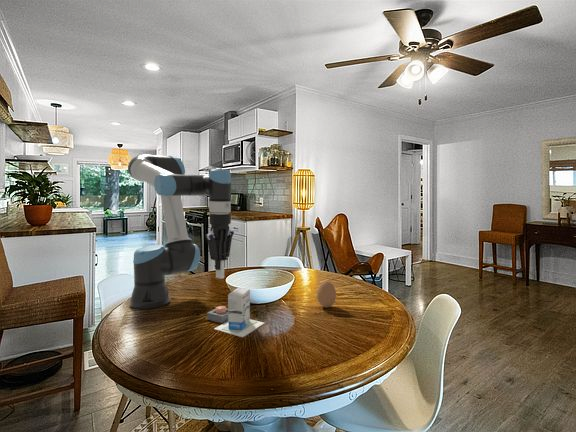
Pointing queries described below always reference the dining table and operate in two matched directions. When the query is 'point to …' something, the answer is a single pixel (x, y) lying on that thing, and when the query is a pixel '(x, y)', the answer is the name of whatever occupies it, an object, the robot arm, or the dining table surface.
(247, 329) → the sheet
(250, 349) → the dining table surface
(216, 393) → the dining table surface
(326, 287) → the egg
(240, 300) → the ink box
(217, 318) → the button housing
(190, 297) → the dining table surface
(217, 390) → the dining table surface
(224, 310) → the button
